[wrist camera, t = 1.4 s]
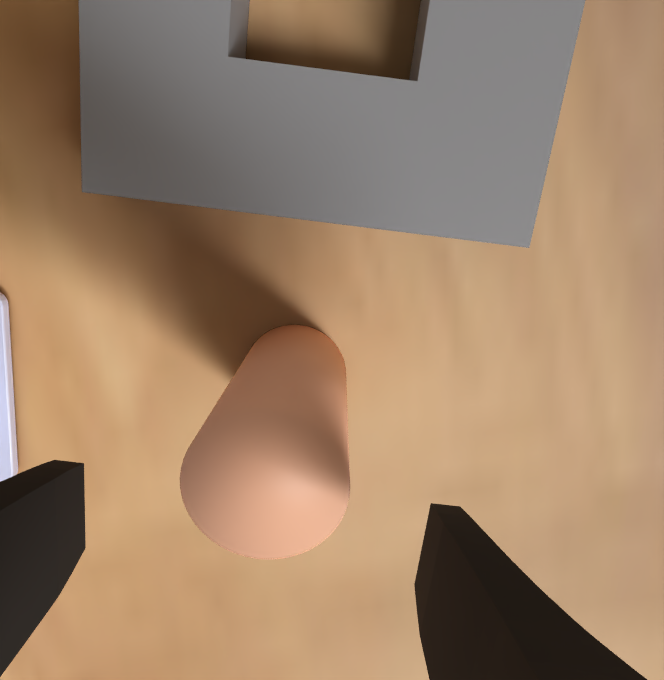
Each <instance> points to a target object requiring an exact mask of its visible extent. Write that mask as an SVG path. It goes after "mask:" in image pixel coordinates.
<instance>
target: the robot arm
mask: <svg viewBox="0 0 664 680" xmlns="http://www.w3.org/2000/svg"><path fill="white" fill-rule="evenodd" d="M17 473H18V458H17V441H16V425H15V408H14V391H13V374H12V357H11V340H10V323H9V306H8V301H7V298H6V297H5V296H4V294H2V293H1V292H0V677H1V675H2V674H3V672H4V671H5V670H6V668H7V667H8V666H9V664H10V663H11V661H12V660H13V659H14V657H15V656H16V655H17V653H18V652H19V650H20V649H21V648H22V646H23V645H24V644H25V642H26V641H27V640H28V638H29V637H30V635H31V634H32V633H33V631H34V630H35V628H36V627H37V626H38V624H39V623H40V622H41V620H42V619H43V617H44V616H45V615H46V613H47V612H48V610H49V609H50V608H51V606H52V605H53V603H54V602H55V600H56V599H57V598H58V596H59V595H60V593H61V591H62V589H63V588H64V586H65V584H66V582H67V581H68V579H69V577H70V576H71V574H72V572H73V570H74V568H75V566H76V564H77V563H78V561H79V559H80V557H81V555H82V553H83V551H84V550H85V499H84V463H76V462H68V461H59V460H53V461H50V462H47V463H44V464H41V465H39V466H36V467H34V468H31V469H29V470H26V471H24V472H22V473H19V474H17ZM16 474H17V475H16ZM415 595H416V605H417V615H418V623H419V632H420V638H421V643H422V647H423V652H424V656H425V661H426V665H427V670H428V674H429V679H430V680H647V679H646V678H644V677H643V676H642V675H640V674H639V673H638V672H637V671H635V670H634V669H633V668H631V667H630V666H629V665H628V664H626V663H625V662H624V661H623V660H621V659H620V658H619V657H618V656H616V655H615V654H614V653H613V652H612V651H610V650H609V649H608V648H607V647H605V646H604V645H603V644H602V643H600V642H599V641H598V640H597V639H595V638H594V637H593V636H592V635H591V634H590V633H588V632H587V631H586V630H585V629H584V628H583V627H581V626H580V625H579V624H578V623H577V622H576V621H574V620H573V619H572V618H571V617H570V616H569V615H568V614H567V613H566V612H565V611H564V610H562V609H561V608H560V607H559V606H558V605H557V604H556V603H555V602H554V601H553V600H552V599H550V598H549V597H548V596H547V595H546V594H545V593H544V592H543V591H542V590H541V589H540V588H539V587H538V586H537V585H536V584H535V583H534V582H533V581H532V580H531V579H530V578H529V577H528V576H527V575H526V574H525V573H524V572H523V571H522V570H521V569H520V568H519V567H518V566H517V565H516V564H515V563H514V562H513V561H512V560H511V559H510V558H509V557H508V556H507V555H506V554H505V553H504V552H503V551H502V550H501V549H500V548H499V547H498V546H497V545H496V544H495V542H494V541H493V540H492V539H491V538H490V537H489V536H488V535H487V534H486V533H485V532H484V531H483V530H482V529H481V528H480V527H479V525H478V524H477V523H476V522H475V521H474V520H473V519H472V518H471V517H470V516H469V515H468V514H467V513H466V512H465V511H464V510H463V509H462V508H461V507H459V506H450V505H441V504H432V503H431V505H430V510H429V515H428V520H427V525H426V530H425V535H424V540H423V545H422V550H421V555H420V560H419V565H418V570H417V575H416V580H415Z"/></svg>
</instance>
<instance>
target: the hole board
mask: <svg viewBox="0 0 664 680" xmlns="http://www.w3.org/2000/svg"><path fill="white" fill-rule="evenodd" d="M249 1H250V0H79V47H80V107H81V167H82V192H86V193H94V194H102V195H110V196H118V197H126V198H134V199H142V200H150V201H158V202H166V203H174V204H182V205H190V206H198V207H206V208H214V209H222V210H230V211H238V212H246V213H254V214H262V215H270V216H278V217H286V218H294V219H302V220H310V221H318V222H326V223H334V224H342V225H350V226H358V227H366V228H374V229H382V230H390V231H398V232H406V233H414V234H422V235H430V236H438V237H446V238H454V239H462V240H470V241H478V242H486V243H494V244H502V245H510V246H518V247H526V248H529V246H530V242H531V238H532V233H533V229H534V224H535V220H536V215H537V211H538V207H539V202H540V198H541V193H542V189H543V185H544V180H545V176H546V171H547V167H548V163H549V158H550V154H551V149H552V145H553V141H554V136H555V132H556V127H557V123H558V118H559V114H560V110H561V105H562V101H563V96H564V92H565V88H566V83H567V79H568V74H569V70H570V66H571V61H572V57H573V52H574V48H575V44H576V39H577V35H578V30H579V26H580V21H581V17H582V13H583V8H584V4H585V0H421V3H420V10H419V17H418V23H417V30H416V37H415V44H414V50H413V57H412V64H411V71H410V77H409V80H403V79H395V78H388V77H380V76H372V75H365V74H357V73H349V72H342V71H334V70H326V69H319V68H311V67H303V66H296V65H288V64H280V63H273V62H265V61H257V60H250V59H246V47H247V31H248V16H249Z"/></svg>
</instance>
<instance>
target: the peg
mask: <svg viewBox="0 0 664 680" xmlns="http://www.w3.org/2000/svg"><path fill="white" fill-rule="evenodd" d="M180 489H181V494H182V499H183V502H184V505H185V507H186V509H187V512H188V514H189V516H190V517H191V519H192V520H193V522H194V523H195V525H196V526H197V527H198V528H199V529H200V530H201V531H202V532H203V533H204V534H205V535H206V536H207V537H208V538H209V539H210V540H212V541H213V542H215V543H216V544H218V545H219V546H221V547H223V548H225V549H226V550H229V551H231V552H233V553H236V554H239V555H242V556H246V557H250V558H256V559H282V558H287V557H292V556H295V555H299V554H301V553H304V552H306V551H309V550H310V549H312V548H314V547H316V546H317V545H319V544H320V543H322V542H323V541H324V540H326V539H327V538H328V537H329V536H330V535H331V534H332V533H333V532H334V530H335V529H336V528H337V526H338V525H339V523H340V522H341V520H342V518H343V516H344V514H345V511H346V509H347V506H348V501H349V496H350V470H349V443H348V415H347V388H346V367H345V363H344V359H343V357H342V354H341V352H340V350H339V349H338V347H337V346H336V344H335V343H334V342H333V341H332V340H331V339H330V338H329V337H327V336H326V335H325V334H323V333H322V332H320V331H318V330H316V329H314V328H311V327H308V326H303V325H285V326H280V327H277V328H274V329H272V330H270V331H268V332H267V333H265V334H264V335H262V336H261V337H260V338H259V339H258V340H257V341H256V342H255V343H254V344H253V346H252V348H251V349H250V351H249V352H248V354H247V356H246V357H245V359H244V360H243V362H242V364H241V365H240V367H239V368H238V370H237V372H236V373H235V375H234V376H233V378H232V380H231V381H230V383H229V384H228V386H227V388H226V389H225V391H224V392H223V394H222V395H221V397H220V399H219V400H218V402H217V403H216V405H215V407H214V408H213V410H212V411H211V413H210V415H209V416H208V418H207V419H206V421H205V423H204V424H203V426H202V427H201V429H200V431H199V432H198V434H197V435H196V437H195V439H194V440H193V442H192V443H191V445H190V447H189V448H188V450H187V452H186V454H185V457H184V459H183V463H182V467H181V473H180Z"/></svg>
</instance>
